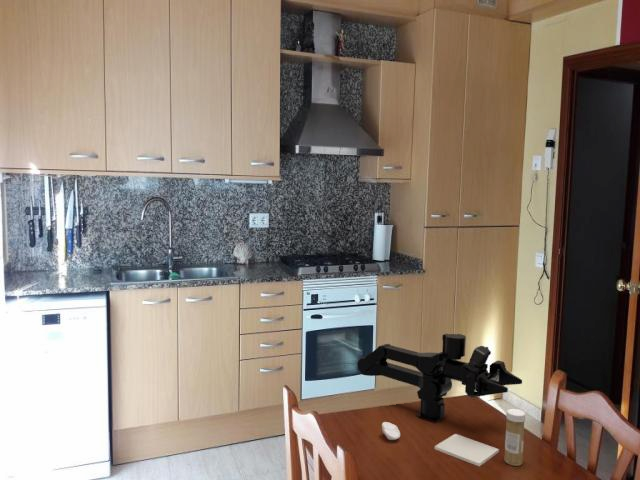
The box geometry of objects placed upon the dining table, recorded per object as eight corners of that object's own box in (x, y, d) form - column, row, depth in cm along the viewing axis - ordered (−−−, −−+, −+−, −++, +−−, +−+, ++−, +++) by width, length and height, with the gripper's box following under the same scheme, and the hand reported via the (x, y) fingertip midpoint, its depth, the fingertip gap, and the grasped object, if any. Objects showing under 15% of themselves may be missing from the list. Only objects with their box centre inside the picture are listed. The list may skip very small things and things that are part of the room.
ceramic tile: (434, 449, 148) (434, 446, 148) (455, 436, 156) (455, 433, 156) (479, 466, 139) (479, 463, 139) (498, 452, 147) (499, 449, 147)
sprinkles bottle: (526, 463, 141) (529, 412, 140) (514, 468, 139) (517, 416, 138) (511, 456, 145) (514, 406, 144) (499, 460, 143) (502, 410, 141)
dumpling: (379, 432, 157) (380, 419, 157) (398, 433, 158) (398, 419, 157) (384, 444, 150) (384, 430, 150) (403, 444, 151) (403, 430, 150)
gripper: (447, 351, 154) (501, 364, 143) (479, 339, 167) (530, 350, 157) (446, 390, 155) (499, 406, 144) (477, 374, 168) (528, 388, 158)
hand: (514, 385), depth 151 cm, fingers open, 9 cm apart
